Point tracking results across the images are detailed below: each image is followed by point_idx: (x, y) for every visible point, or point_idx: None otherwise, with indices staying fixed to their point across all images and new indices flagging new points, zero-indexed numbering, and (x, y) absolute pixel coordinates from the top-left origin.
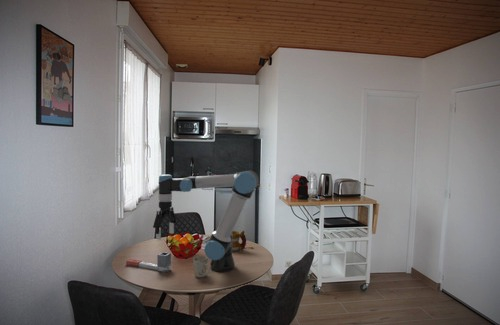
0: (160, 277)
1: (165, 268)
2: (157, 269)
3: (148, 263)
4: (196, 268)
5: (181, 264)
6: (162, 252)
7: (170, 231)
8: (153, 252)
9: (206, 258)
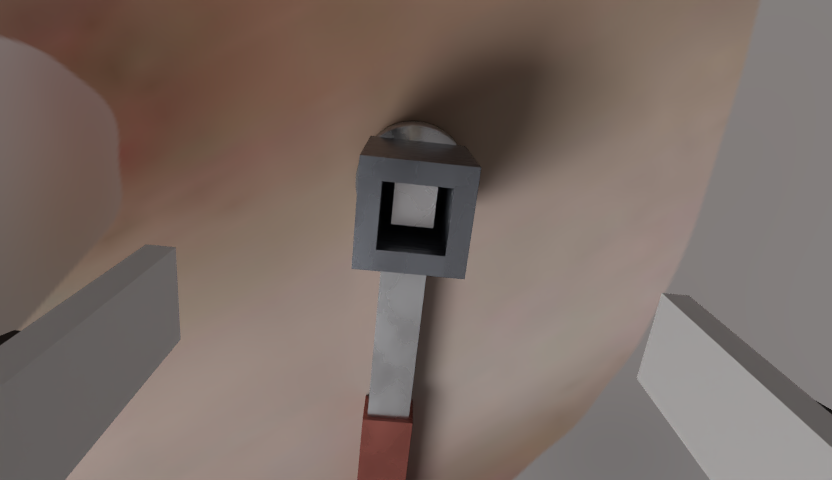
0: (565, 130)
1: None
2: None
3: (389, 346)
4: None
5: (221, 88)
6: (371, 265)
7: (157, 336)
8: None
9: None
